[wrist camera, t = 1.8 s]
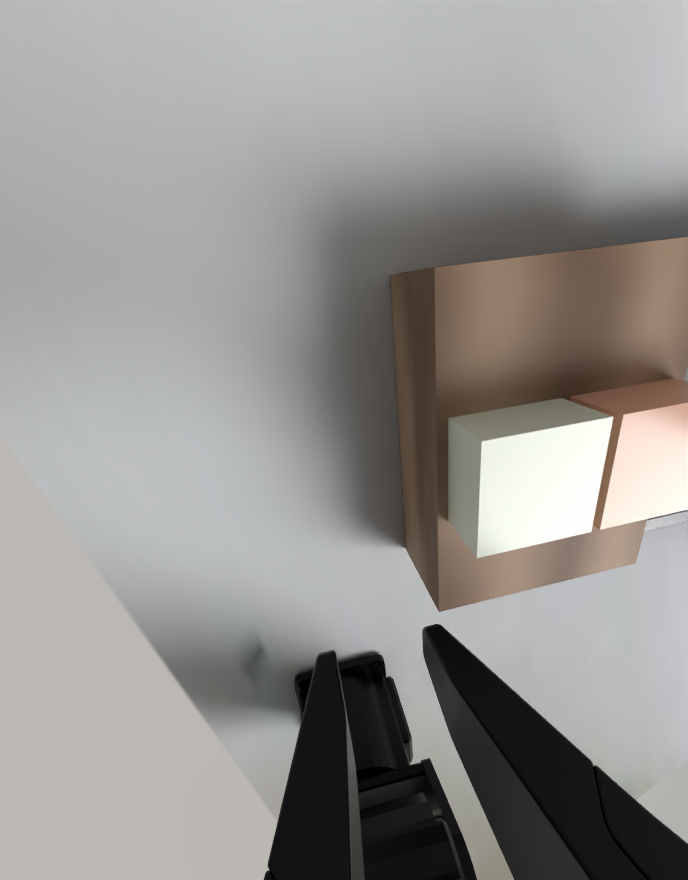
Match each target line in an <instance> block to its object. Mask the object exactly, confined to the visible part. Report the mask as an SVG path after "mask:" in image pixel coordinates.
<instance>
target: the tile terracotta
mask: <svg viewBox="0 0 688 880" xmlns="http://www.w3.org/2000/svg"><path fill="white" fill-rule="evenodd" d="M570 401H571V402H574V403H577V404H580V405H582V406H585V407H588V408H591V409H594V410H596V411H599V412H602V413H605V414H608V415H610V416H613V422H612V428H611V433H610V438H609V443H608V448H607V453H606V458H605V464H604V469H603V474H602V479H601V484H600V489H599V494H598V500H597V505H596V510H595V515H594V520H593V525H594V526H595V527H597V528H598V529H599V530H602V529H606V528H610V527H615V526H619V525H623V524H628V523H632V522H636V521H640V520H645V519H649V518H653V517H658V516H662V515H666V514H671V513H675V512H679V511H684V510H688V381H685V380H680V379H675V378H672V379H666V380H660V381H655V382H649V383H643V384H638V385H632V386H626V387H621V388H615V389H609V390H604V391H598V392H593V393H587V394H581V395H576V396H570Z"/></svg>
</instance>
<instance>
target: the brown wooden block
mask: <svg viewBox="0 0 688 880" xmlns="http://www.w3.org/2000/svg"><path fill="white" fill-rule="evenodd" d="M390 281H391V299H392V316H393V333H394V351H395V368H396V386H397V403H398V421H399V438H400V456H401V473H402V490H403V508H404V525H405V543H406V550H407V552H408V554H409V556H410V558H411V560H412V561H413V563H414V565H415V567H416V569H417V571H418V573H419V575H420V577H421V579H422V580H423V582H424V584H425V586H426V588H427V590H428V592H429V594H430V596H431V598H432V600H433V601H434V603H435V605H436V607H437V609H438V611H439V612H440V611H444V610H448V609H452V608H456V607H460V606H465V605H469V604H473V603H477V602H481V601H485V600H489V599H493V598H497V597H501V596H505V595H509V594H513V593H517V592H521V591H525V590H529V589H533V588H537V587H541V586H545V585H549V584H553V583H557V582H561V581H565V580H569V579H574V578H578V577H582V576H586V575H590V574H594V573H598V572H602V571H606V570H610V569H614V568H618V567H622V566H626V565H630V564H634V563H636V560H637V556H638V552H639V549H640V545H641V541H642V537H643V534H644V530H645V526H646V522H647V519H645V520H640V521H636V522H632V523H628V524H623V525H619V526H615V527H610V528H606V529H602V530H599V529H598V528H597V527H595V526H594V525H592V531H591V532H589V533H584V534H580V535H576V536H571V537H567V538H563V539H558V540H554V541H550V542H545V543H541V544H537V545H532V546H528V547H524V548H519V549H515V550H511V551H506V552H502V553H498V554H494V555H489V556H485V557H481V558H476V557H475V555H474V554H473V553H472V551H471V550H470V549H469V548H468V546H467V545H466V544H465V542H464V541H463V540H462V538H461V537H460V536H459V535H458V533H457V532H456V531H455V529H454V528H453V527H452V526H451V524H450V523H449V522H448V418H452V417H457V416H463V415H468V414H474V413H480V412H485V411H491V410H497V409H502V408H508V407H514V406H519V405H525V404H531V403H536V402H542V401H547V400H553V399H559V398H563V399H566V400H568V401H570V396H576V395H581V394H587V393H593V392H598V391H604V390H609V389H615V388H621V387H626V386H632V385H638V384H643V383H649V382H655V381H660V380H666V379H672V378H675V379H680V380H684V379H685V375H686V372H687V368H688V237H682V238H673V239H665V240H657V241H649V242H640V243H632V244H624V245H616V246H607V247H599V248H591V249H583V250H575V251H566V252H558V253H550V254H542V255H533V256H525V257H517V258H509V259H500V260H492V261H484V262H476V263H467V264H459V265H451V266H443V267H434V268H429V269H423V270H417V271H411V272H405V273H399V274H394V275H390Z"/></svg>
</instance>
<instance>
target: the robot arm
mask: <svg viewBox="0 0 688 880" xmlns="http://www.w3.org/2000/svg"><path fill="white" fill-rule="evenodd" d="M422 636H423V654H424V659H425V662H426V665H427V668H428V671H429V674H430V677H431V680H432V683H433V686H434V689H435V692H436V695H437V698H438V701H439V704H440V707H441V710H442V712H443V715H444V718H445V721H446V724H447V727H448V730H449V733H450V735H451V738H452V740H453V743H454V745H455V747H456V750H457V752H458V754H459V757H460V759H461V761H462V763H463V766H464V768H465V770H466V772H467V774H468V777H469V779H470V781H471V783H472V786H473V788H474V790H475V792H476V795H477V797H478V799H479V801H480V804H481V806H482V808H483V810H484V813H485V815H486V817H487V819H488V822H489V824H490V826H491V828H492V831H493V833H494V835H495V837H496V840H497V842H498V844H499V846H500V848H501V851H502V853H503V855H504V857H505V860H506V862H507V864H508V866H509V869H510V871H511V873H512V875H513V878H514V880H688V843H686V842H685V841H684V840H682V839H681V838H680V837H679V836H678V835H677V834H675V833H674V832H673V831H671V830H670V829H669V828H668V827H667V826H665V825H664V824H663V823H662V822H661V821H659V820H658V819H657V818H656V817H654V816H653V815H652V814H651V813H650V812H649V811H647V810H646V809H645V808H644V807H643V806H642V805H641V804H639V803H638V802H637V801H636V800H635V799H634V798H633V797H631V796H630V795H629V794H628V793H627V792H626V791H625V790H623V789H622V788H621V787H620V786H619V785H618V784H617V783H616V782H614V781H613V780H612V779H611V778H610V777H609V776H608V775H607V774H606V773H605V772H603V771H602V770H601V769H600V768H599V767H598V766H596V765H595V766H594V767H593V763H592V761H591V760H590V759H589V758H588V757H587V756H585V755H584V754H583V753H582V752H581V751H580V750H579V749H578V748H577V747H576V746H574V745H573V744H572V743H571V742H570V741H569V740H568V739H567V738H566V737H564V736H563V735H562V734H561V733H560V732H559V731H558V730H557V729H556V728H554V727H553V726H552V725H551V724H550V723H549V722H548V721H547V720H546V719H545V718H543V717H542V716H541V715H540V714H539V713H538V712H537V711H536V710H535V709H533V708H532V707H531V706H530V705H529V704H528V703H527V702H526V701H525V700H523V699H522V698H521V697H520V696H519V695H518V694H517V693H516V692H515V691H514V690H512V689H511V688H510V687H509V686H508V685H507V684H506V683H505V682H504V681H502V680H501V679H500V678H499V677H498V676H497V675H496V674H495V673H494V672H492V671H491V670H490V669H489V668H488V667H487V666H486V665H485V664H484V663H483V662H481V661H480V660H479V659H478V658H477V657H476V656H475V655H474V654H473V653H471V652H470V651H469V650H468V649H467V648H466V647H465V646H464V645H463V644H461V643H460V642H459V641H458V640H457V639H456V638H455V637H454V636H453V635H452V634H450V633H449V632H448V631H447V630H446V629H445V628H444V627H443V626H441V625H439V624H435V625H431V626H427V627H424V628H423V631H422ZM294 685H295V690H296V694H297V698H298V702H299V705H300V713H301V726H300V730H299V734H298V738H297V743H296V747H295V751H294V755H293V760H292V764H291V768H290V772H289V776H288V781H287V785H286V789H285V793H284V798H283V802H282V806H281V810H280V814H279V819H278V823H277V828H276V831H275V836H274V840H273V844H272V848H271V853H270V857H269V861H268V868H269V871H267V872H266V873H265V877H264V880H477V878H476V874H475V871H474V868H473V864H472V861H471V858H470V855H469V852H468V849H467V846H466V843H465V841H464V838H463V836H462V833H461V831H460V828H459V826H458V824H457V821H456V819H455V817H454V814H453V812H452V810H451V807H450V805H449V803H448V800H447V798H446V796H445V793H444V791H443V788H442V786H441V784H440V781H439V779H438V777H437V774H436V772H435V770H434V767H433V765H432V763H431V760H430V758H428V759H424V760H421V762H420V763H417V764H413V765H410V763H411V761H412V758H413V752H412V738H411V734H410V731H409V727H408V724H407V721H406V718H405V715H404V712H403V708H402V705H401V702H400V699H399V696H398V692H397V689H396V686H395V683H394V680H393V678H391V677H390V676H389V677H386V672H385V663H384V659H383V657H382V656H381V655H374V656H370V657H366V658H362V659H358V660H354V661H351V662H347V663H343V664H339V665H338V661H337V656H336V652H335V651H334V650H331V651H327V652H323V653H320V654H319V655H318V656H317V658H316V662H315V667H314V671H312V672H308V673H304V674H300V675H298V676H296V677H295V679H294Z"/></svg>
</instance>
